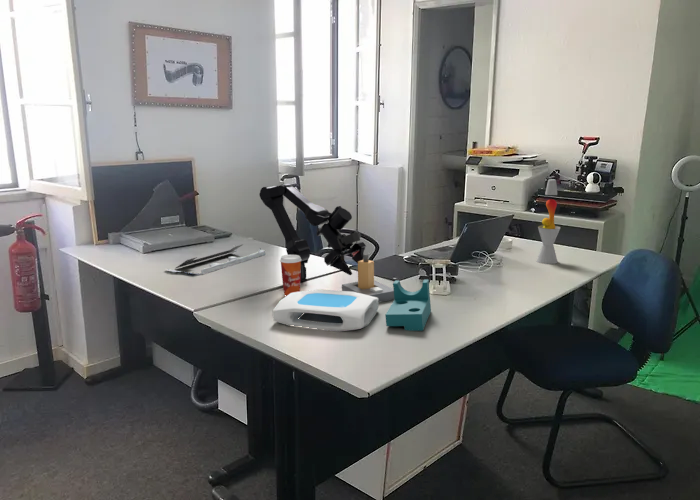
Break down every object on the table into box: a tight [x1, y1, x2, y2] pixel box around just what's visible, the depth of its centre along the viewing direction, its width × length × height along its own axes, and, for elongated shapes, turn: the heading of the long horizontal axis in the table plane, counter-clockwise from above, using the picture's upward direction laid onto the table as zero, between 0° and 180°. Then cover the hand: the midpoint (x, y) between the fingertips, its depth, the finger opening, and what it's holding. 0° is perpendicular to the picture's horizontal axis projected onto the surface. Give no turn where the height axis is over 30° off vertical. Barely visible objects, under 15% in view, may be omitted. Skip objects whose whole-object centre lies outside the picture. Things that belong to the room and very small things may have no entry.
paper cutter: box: [165, 244, 266, 275], centre depth 251 cm, size 18×45×6 cm, turn 148°
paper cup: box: [279, 254, 302, 297], centre depth 202 cm, size 8×8×14 cm
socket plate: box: [341, 279, 394, 303], centre depth 201 cm, size 13×17×4 cm
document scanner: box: [272, 288, 379, 332], centre depth 179 cm, size 21×28×6 cm
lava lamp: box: [535, 178, 561, 265], centre depth 241 cm, size 9×9×35 cm
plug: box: [357, 253, 375, 290], centre depth 202 cm, size 4×4×14 cm
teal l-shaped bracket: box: [385, 279, 432, 332], centre depth 176 cm, size 18×11×10 cm, turn 165°
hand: (359, 271), depth 203 cm, fingers open, 9 cm apart
